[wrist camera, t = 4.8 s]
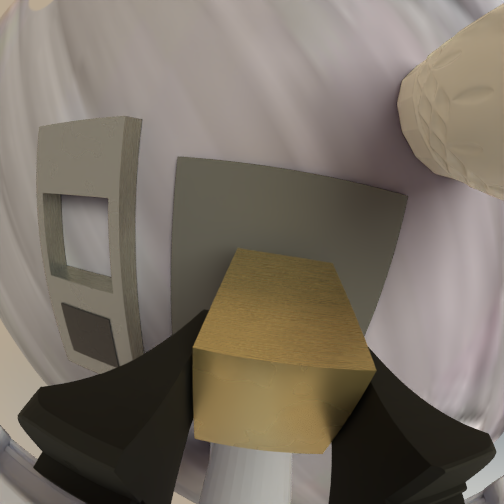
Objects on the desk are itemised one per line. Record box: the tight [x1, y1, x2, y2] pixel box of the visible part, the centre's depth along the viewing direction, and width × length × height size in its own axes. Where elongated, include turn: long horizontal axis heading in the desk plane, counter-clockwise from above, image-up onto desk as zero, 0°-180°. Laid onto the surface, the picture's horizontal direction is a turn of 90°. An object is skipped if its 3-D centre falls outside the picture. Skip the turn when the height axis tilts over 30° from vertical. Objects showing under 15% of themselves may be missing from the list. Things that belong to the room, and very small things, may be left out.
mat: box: [171, 157, 408, 336], centre depth 15 cm, size 12×12×1 cm
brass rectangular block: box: [193, 248, 377, 454], centre depth 10 cm, size 4×4×7 cm
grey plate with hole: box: [36, 116, 144, 374], centre depth 15 cm, size 18×7×2 cm, turn 172°
